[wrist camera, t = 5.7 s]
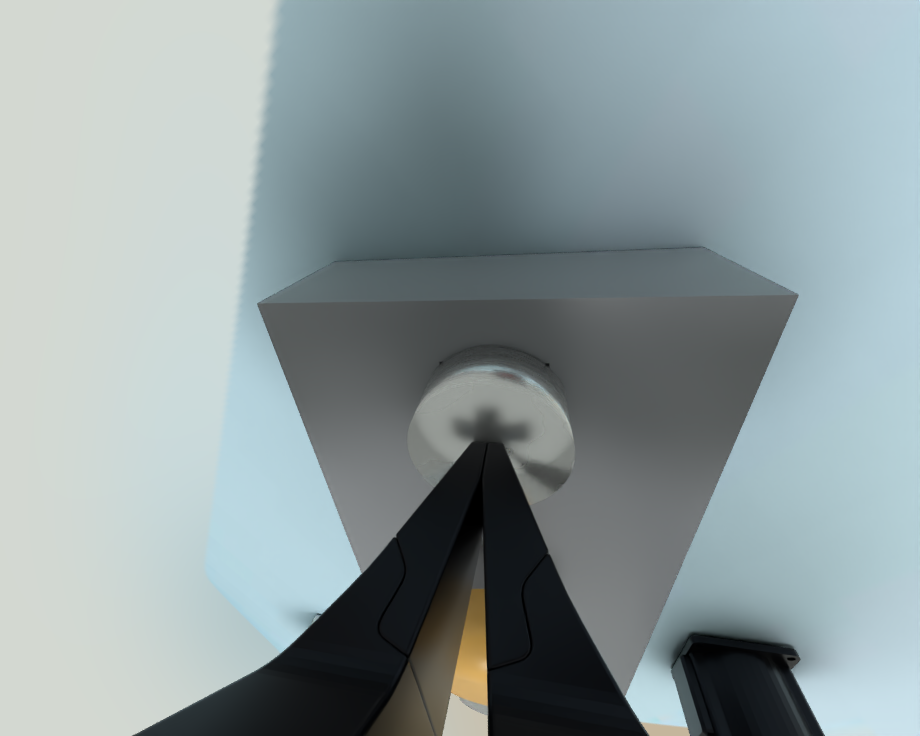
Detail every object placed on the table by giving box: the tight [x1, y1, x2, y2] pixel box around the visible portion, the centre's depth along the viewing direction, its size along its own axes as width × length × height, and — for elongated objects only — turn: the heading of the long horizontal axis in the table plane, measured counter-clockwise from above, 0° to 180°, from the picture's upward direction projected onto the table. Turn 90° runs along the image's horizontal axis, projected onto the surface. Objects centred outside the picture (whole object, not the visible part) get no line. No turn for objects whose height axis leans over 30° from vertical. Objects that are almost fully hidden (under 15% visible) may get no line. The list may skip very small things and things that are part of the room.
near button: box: [407, 345, 575, 505], centre depth 11 cm, size 4×4×5 cm
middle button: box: [451, 546, 488, 706], centre depth 14 cm, size 4×4×5 cm
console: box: [257, 247, 798, 696], centre depth 18 cm, size 14×25×5 cm, turn 4°
